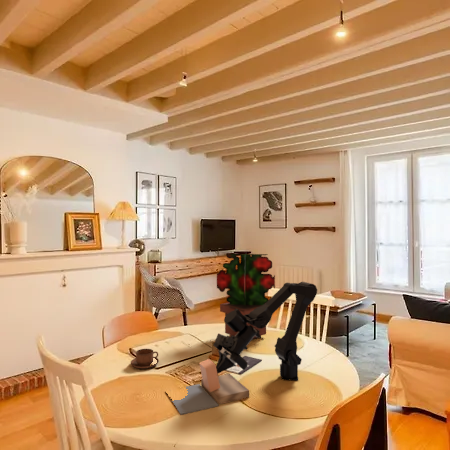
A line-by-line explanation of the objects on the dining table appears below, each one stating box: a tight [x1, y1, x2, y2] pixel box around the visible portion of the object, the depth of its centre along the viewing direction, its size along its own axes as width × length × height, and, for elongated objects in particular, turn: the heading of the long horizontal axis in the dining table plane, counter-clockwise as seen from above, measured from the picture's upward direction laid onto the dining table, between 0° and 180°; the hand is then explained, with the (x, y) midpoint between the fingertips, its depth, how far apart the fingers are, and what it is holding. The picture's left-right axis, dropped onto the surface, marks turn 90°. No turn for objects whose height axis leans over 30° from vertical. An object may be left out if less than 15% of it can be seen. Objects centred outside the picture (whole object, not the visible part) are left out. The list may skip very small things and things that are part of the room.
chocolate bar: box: [225, 355, 263, 375], centre depth 164 cm, size 9×1×18 cm
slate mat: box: [171, 383, 220, 415], centre depth 133 cm, size 14×18×1 cm
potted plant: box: [216, 253, 276, 341], centre depth 202 cm, size 22×22×45 cm
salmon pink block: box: [199, 358, 220, 392], centre depth 136 cm, size 4×6×9 cm, turn 25°
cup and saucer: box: [130, 348, 159, 369], centre depth 164 cm, size 12×12×6 cm
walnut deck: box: [200, 373, 250, 405], centre depth 139 cm, size 12×16×2 cm
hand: (215, 373), depth 137 cm, fingers closed
